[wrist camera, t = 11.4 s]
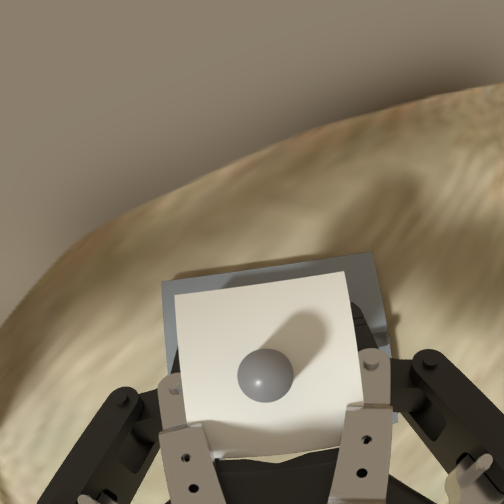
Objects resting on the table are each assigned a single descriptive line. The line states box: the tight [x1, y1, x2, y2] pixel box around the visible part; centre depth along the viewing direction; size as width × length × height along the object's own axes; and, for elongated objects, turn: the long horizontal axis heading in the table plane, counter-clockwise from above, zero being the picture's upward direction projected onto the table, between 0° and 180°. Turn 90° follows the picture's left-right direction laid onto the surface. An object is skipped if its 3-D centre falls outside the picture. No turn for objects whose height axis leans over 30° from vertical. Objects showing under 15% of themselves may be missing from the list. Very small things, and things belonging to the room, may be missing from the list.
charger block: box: [174, 271, 364, 458], centre depth 11 cm, size 5×5×11 cm
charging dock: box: [162, 251, 398, 424], centre depth 19 cm, size 16×13×4 cm
